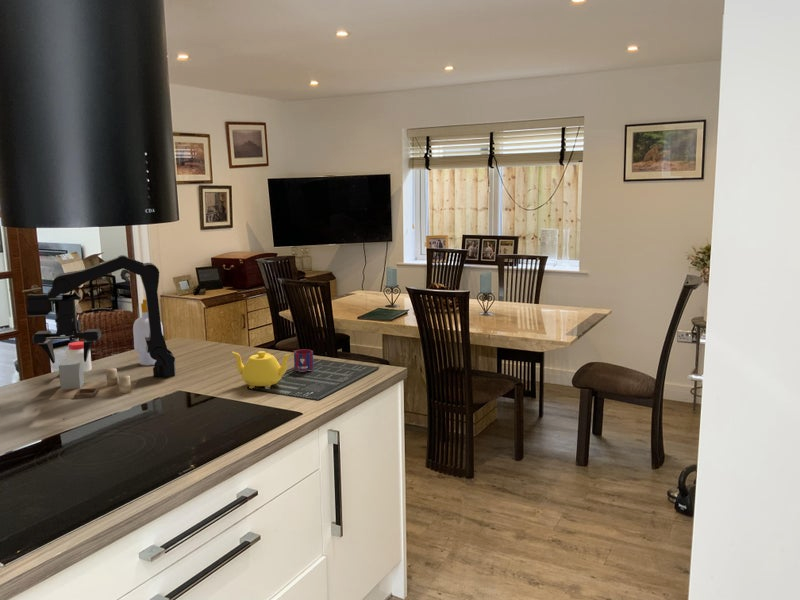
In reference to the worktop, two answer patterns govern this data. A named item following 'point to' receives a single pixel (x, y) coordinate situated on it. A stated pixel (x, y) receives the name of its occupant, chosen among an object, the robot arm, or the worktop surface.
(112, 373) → the peg
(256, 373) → the teapot
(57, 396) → the board
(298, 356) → the mug
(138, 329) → the soap bottle
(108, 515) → the worktop surface
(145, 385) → the worktop surface
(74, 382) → the block
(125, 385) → the maple peg
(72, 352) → the pill bottle
